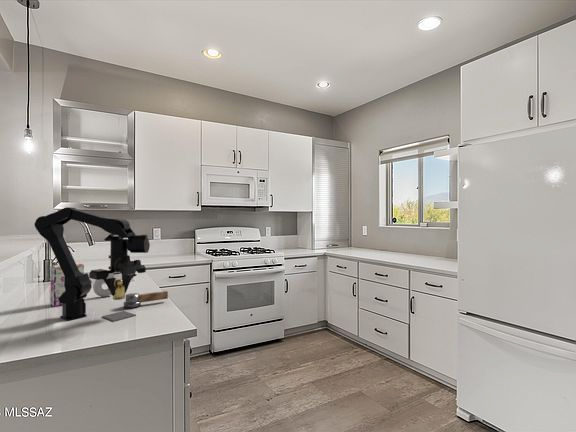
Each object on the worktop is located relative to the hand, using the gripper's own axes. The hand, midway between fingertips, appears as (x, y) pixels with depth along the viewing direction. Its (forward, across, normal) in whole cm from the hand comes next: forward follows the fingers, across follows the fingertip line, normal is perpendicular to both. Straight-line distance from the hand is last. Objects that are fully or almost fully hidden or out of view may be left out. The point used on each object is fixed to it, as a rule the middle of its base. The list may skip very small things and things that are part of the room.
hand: (118, 294), depth 123 cm
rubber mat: (+8, 0, 0) cm, 8 cm away
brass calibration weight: (+2, 0, 0) cm, 2 cm away
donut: (+9, +12, +33) cm, 36 cm away
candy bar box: (+9, -3, +35) cm, 36 cm away
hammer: (+8, +15, +6) cm, 18 cm away
